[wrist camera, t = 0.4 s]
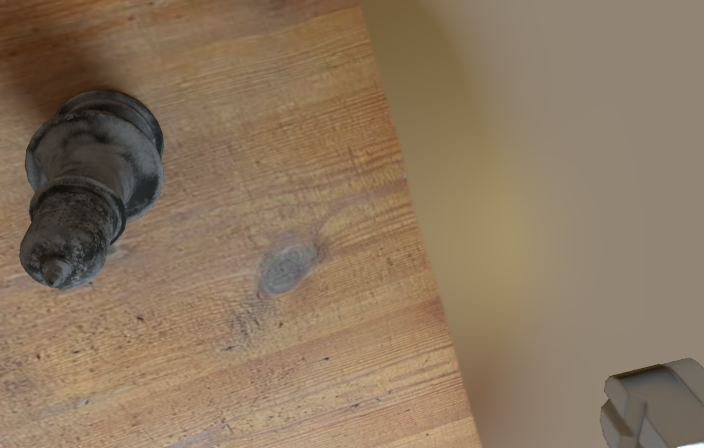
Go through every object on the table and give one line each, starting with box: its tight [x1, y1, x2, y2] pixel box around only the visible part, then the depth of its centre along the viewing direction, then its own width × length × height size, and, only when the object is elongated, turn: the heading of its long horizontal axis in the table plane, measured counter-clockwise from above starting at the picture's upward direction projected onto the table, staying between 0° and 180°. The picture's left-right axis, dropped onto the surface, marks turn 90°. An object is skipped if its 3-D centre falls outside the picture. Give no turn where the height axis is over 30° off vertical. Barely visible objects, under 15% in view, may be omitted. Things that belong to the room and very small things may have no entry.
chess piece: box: [19, 90, 164, 289], centre depth 25 cm, size 6×6×12 cm
